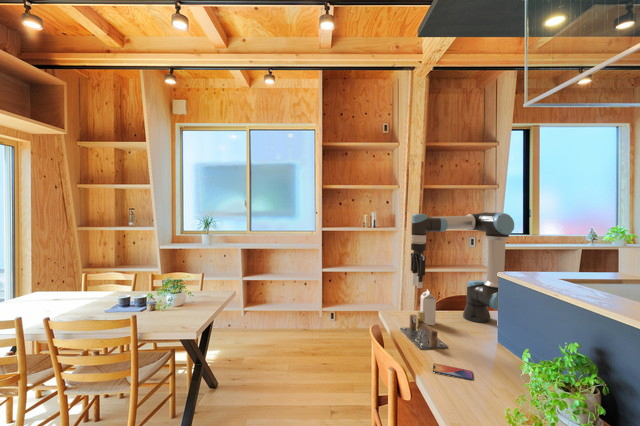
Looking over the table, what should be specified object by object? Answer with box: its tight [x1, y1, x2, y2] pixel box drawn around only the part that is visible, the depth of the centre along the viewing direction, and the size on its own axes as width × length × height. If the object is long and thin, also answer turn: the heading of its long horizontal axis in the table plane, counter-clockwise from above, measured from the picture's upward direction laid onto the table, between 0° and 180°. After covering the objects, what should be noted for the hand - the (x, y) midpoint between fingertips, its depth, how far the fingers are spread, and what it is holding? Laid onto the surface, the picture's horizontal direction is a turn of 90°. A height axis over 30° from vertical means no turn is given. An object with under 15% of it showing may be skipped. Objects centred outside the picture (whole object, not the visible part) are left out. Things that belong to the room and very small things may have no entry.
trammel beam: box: [409, 314, 438, 347], centre depth 168 cm, size 3×25×7 cm, turn 8°
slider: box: [416, 311, 425, 334], centre depth 170 cm, size 4×2×11 cm, turn 98°
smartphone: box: [432, 363, 474, 381], centre depth 134 cm, size 7×15×1 cm, turn 69°
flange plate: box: [399, 326, 449, 350], centre depth 169 cm, size 14×25×2 cm, turn 8°
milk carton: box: [419, 288, 437, 326], centre depth 191 cm, size 7×7×19 cm
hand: (417, 286), depth 175 cm, fingers open, 5 cm apart
